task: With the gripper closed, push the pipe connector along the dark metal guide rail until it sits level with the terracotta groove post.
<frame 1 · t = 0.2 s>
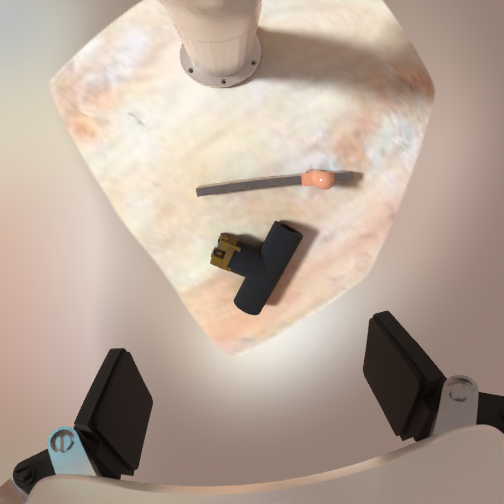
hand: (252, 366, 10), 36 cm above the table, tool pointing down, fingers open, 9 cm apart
pipe connector: (248, 255, 48), on the table
guide rail: (275, 179, 43), on the table
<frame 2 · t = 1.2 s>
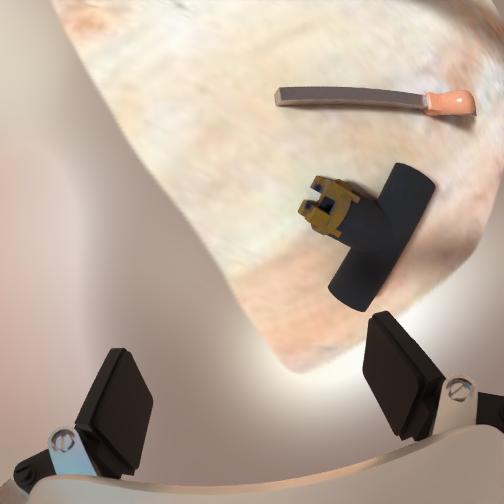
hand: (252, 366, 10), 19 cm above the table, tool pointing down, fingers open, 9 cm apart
pipe connector: (350, 217, 29), on the table
guide rail: (386, 101, 24), on the table
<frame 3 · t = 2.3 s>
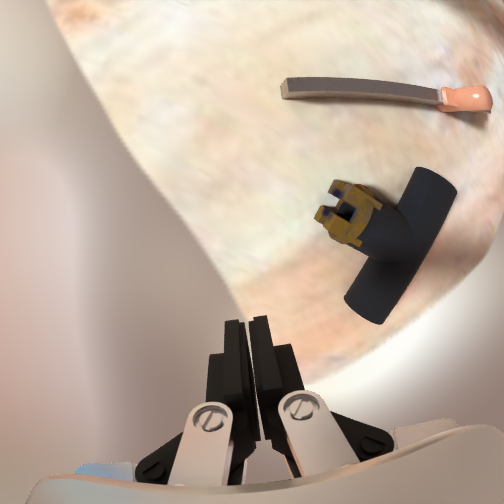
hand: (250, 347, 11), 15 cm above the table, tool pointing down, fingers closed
pipe connector: (368, 224, 26), on the table
guide rail: (399, 95, 21), on the table
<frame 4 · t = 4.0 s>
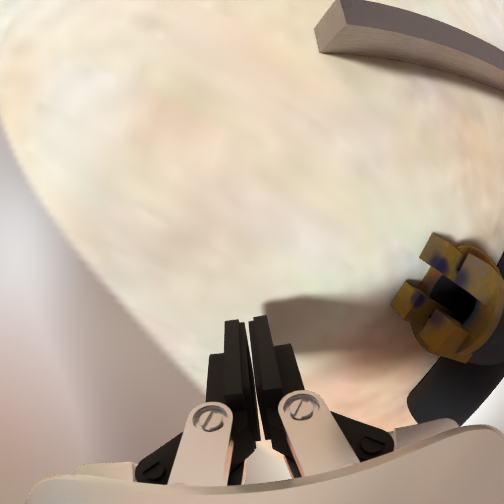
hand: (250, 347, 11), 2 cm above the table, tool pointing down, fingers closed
pipe connector: (456, 297, 14), on the table
guide rail: (495, 79, 9), on the table
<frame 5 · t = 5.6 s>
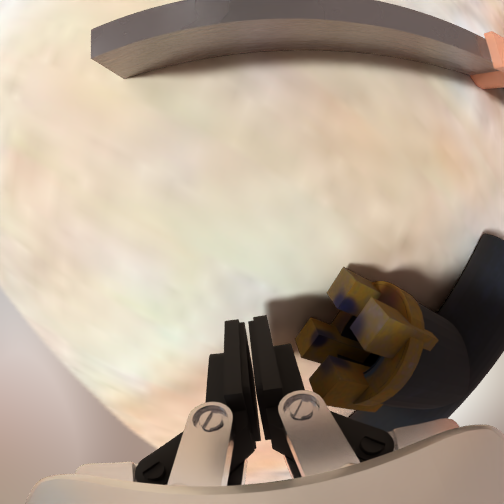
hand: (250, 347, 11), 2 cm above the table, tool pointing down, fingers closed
pipe connector: (392, 330, 14), on the table, touching gripper
guide rail: (399, 47, 9), on the table
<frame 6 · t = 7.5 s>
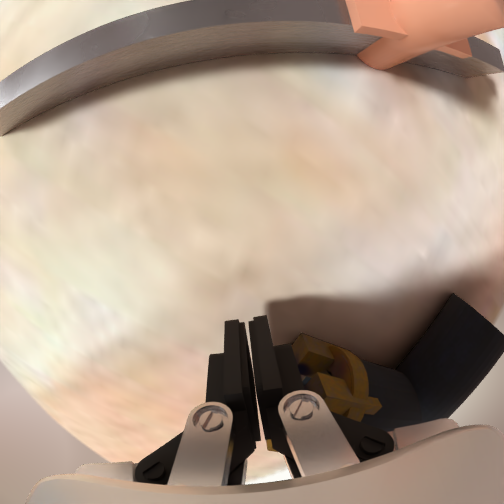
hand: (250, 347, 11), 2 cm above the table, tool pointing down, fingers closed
pipe connector: (354, 377, 15), on the table
guide rail: (234, 43, 9), on the table
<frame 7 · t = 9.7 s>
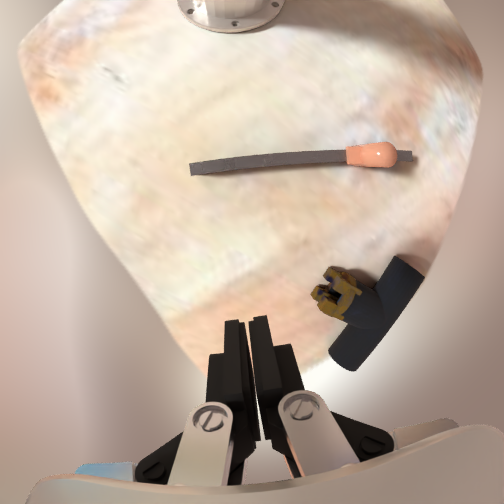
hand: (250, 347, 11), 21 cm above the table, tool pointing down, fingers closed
pipe connector: (351, 296, 35), on the table
guide rail: (306, 157, 29), on the table
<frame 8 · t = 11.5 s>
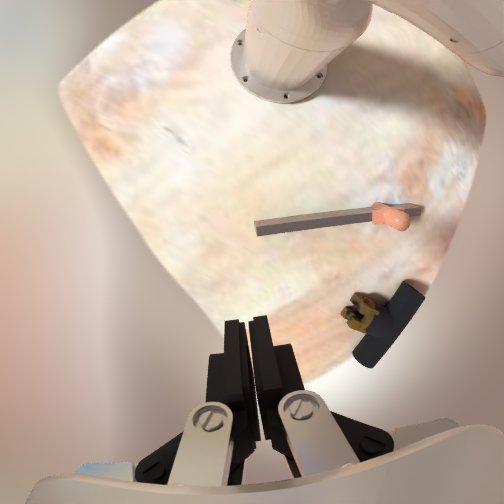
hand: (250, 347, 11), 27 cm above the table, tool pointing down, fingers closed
pipe connector: (370, 312, 44), on the table
guide rail: (340, 214, 38), on the table
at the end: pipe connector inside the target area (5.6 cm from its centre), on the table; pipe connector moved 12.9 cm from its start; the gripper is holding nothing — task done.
